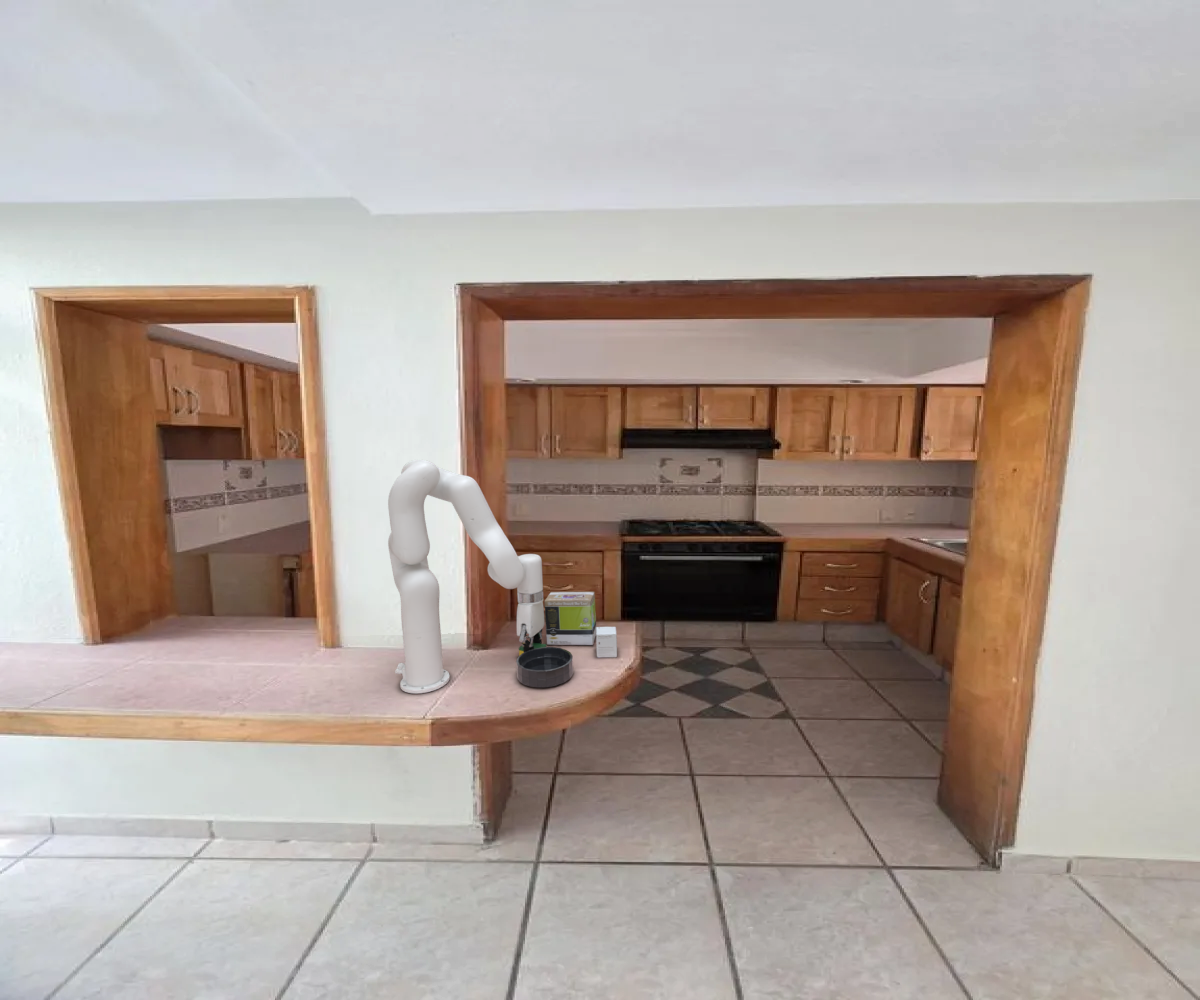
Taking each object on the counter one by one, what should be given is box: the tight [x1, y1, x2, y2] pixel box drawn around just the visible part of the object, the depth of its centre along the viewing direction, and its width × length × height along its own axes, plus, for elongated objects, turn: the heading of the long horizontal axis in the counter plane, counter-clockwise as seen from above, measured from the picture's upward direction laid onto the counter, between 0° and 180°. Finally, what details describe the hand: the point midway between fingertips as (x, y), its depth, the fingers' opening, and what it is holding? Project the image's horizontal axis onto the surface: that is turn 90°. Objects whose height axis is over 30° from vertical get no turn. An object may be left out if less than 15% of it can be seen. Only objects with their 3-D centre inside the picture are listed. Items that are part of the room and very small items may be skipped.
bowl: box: [515, 646, 574, 689], centre depth 136 cm, size 15×15×5 cm
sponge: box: [518, 643, 548, 657], centre depth 149 cm, size 7×4×3 cm, turn 72°
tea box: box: [544, 591, 597, 646], centre depth 160 cm, size 15×10×15 cm, turn 84°
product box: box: [595, 626, 618, 658], centre depth 149 cm, size 6×6×7 cm
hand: (533, 654), depth 149 cm, fingers closed on sponge, 4 cm apart
